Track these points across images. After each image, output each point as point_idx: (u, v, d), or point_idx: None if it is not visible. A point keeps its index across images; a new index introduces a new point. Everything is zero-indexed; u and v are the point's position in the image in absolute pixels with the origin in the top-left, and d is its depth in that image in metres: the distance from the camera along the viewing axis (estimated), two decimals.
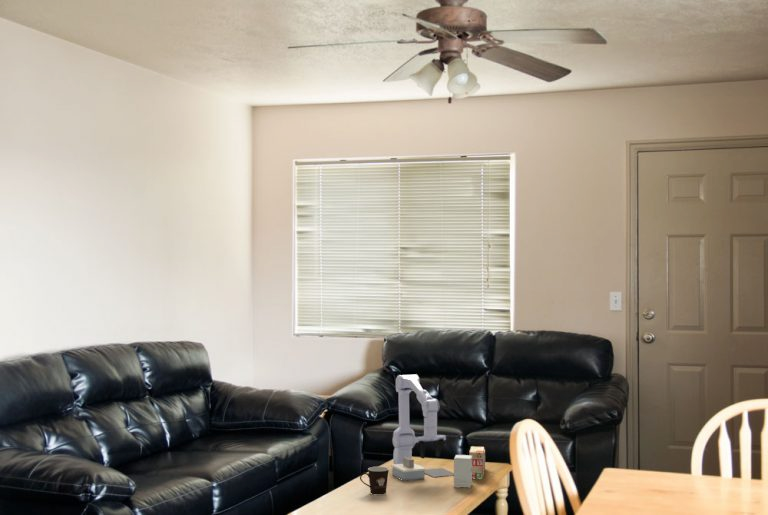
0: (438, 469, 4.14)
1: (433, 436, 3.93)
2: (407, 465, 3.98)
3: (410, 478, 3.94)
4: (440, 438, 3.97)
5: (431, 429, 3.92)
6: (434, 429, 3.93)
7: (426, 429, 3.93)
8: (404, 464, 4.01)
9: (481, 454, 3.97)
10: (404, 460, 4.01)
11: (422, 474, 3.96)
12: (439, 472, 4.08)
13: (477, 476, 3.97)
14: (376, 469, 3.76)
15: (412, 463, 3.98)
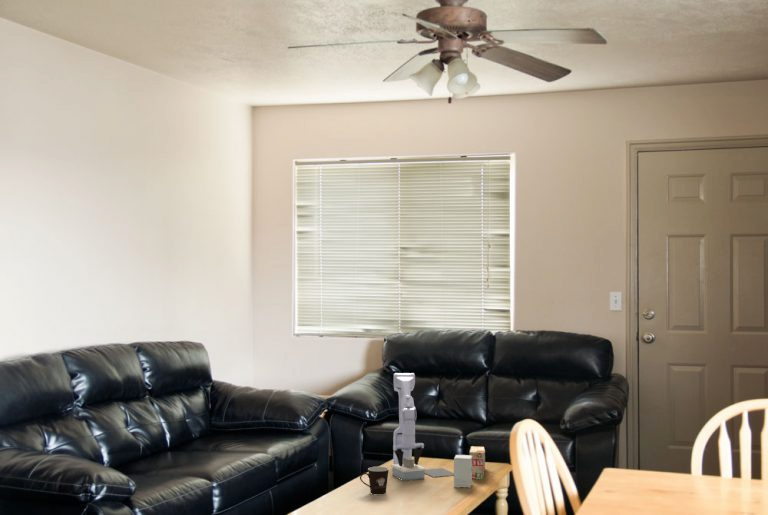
0: (438, 469, 4.14)
1: (411, 444, 3.98)
2: (407, 465, 3.98)
3: (410, 478, 3.94)
4: (418, 446, 4.02)
5: (409, 437, 3.97)
6: (412, 437, 3.98)
7: (404, 437, 3.98)
8: (404, 464, 4.01)
9: (481, 454, 3.97)
10: (404, 460, 4.01)
11: (422, 474, 3.96)
12: (439, 472, 4.08)
13: (477, 476, 3.98)
14: (376, 469, 3.76)
15: (412, 463, 3.98)
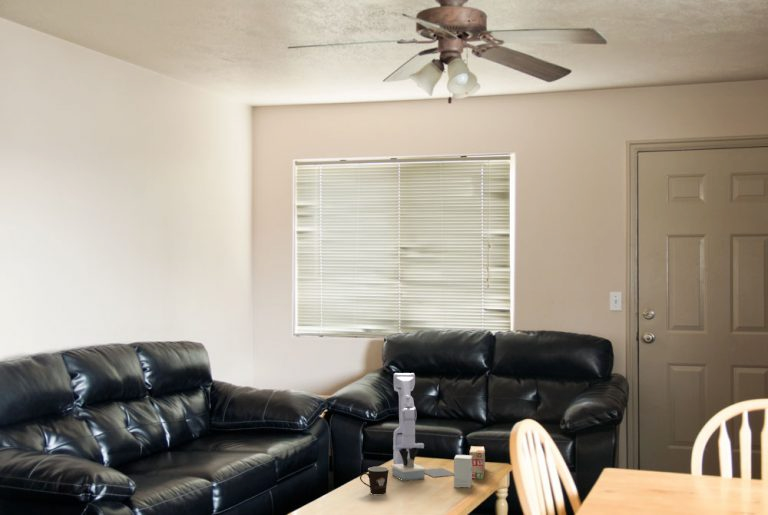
0: (438, 469, 4.14)
1: (411, 444, 3.98)
2: (407, 465, 3.98)
3: (410, 478, 3.94)
4: (418, 446, 4.02)
5: (409, 437, 3.97)
6: (412, 437, 3.98)
7: (404, 437, 3.98)
8: None
9: (481, 454, 3.97)
10: None
11: (422, 474, 3.96)
12: (439, 472, 4.08)
13: (477, 476, 3.98)
14: (376, 469, 3.76)
15: (412, 463, 3.98)
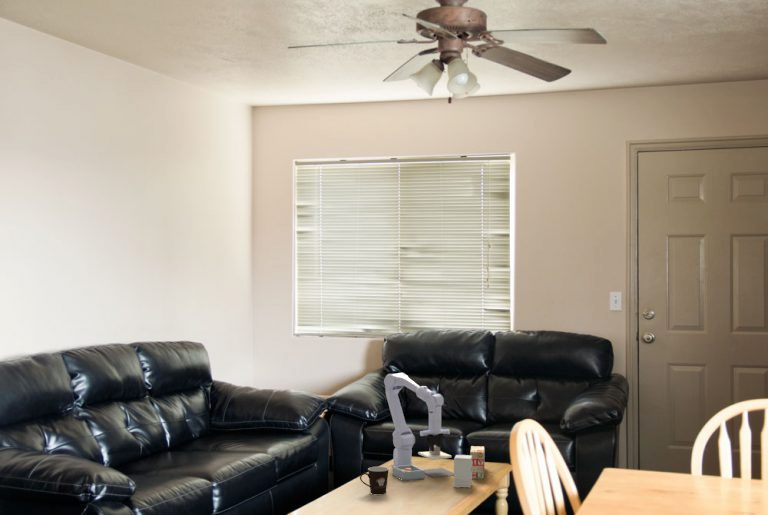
0: (438, 469, 4.14)
1: (437, 430, 4.05)
2: (433, 452, 4.06)
3: (410, 478, 3.94)
4: (444, 432, 4.09)
5: (435, 423, 4.05)
6: (438, 423, 4.05)
7: (431, 423, 4.06)
8: (430, 452, 4.09)
9: (482, 454, 3.98)
10: None
11: (422, 474, 3.96)
12: (439, 472, 4.08)
13: (478, 476, 3.98)
14: (376, 469, 3.76)
15: (438, 450, 4.05)
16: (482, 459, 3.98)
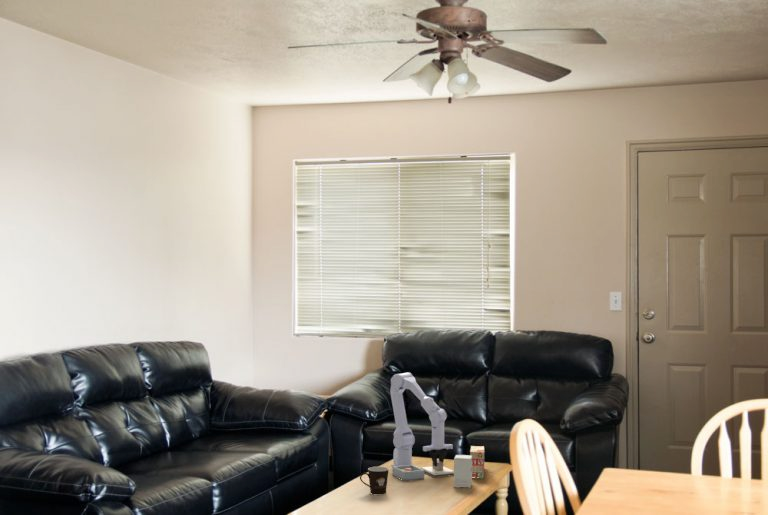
0: None
1: (441, 445, 4.06)
2: (437, 468, 4.07)
3: (410, 478, 3.94)
4: (447, 447, 4.10)
5: (439, 438, 4.06)
6: (441, 438, 4.06)
7: (434, 438, 4.07)
8: (433, 467, 4.09)
9: (482, 453, 3.98)
10: None
11: (422, 474, 3.96)
12: None
13: (478, 475, 3.98)
14: (376, 469, 3.76)
15: (441, 466, 4.06)
16: (482, 459, 3.98)
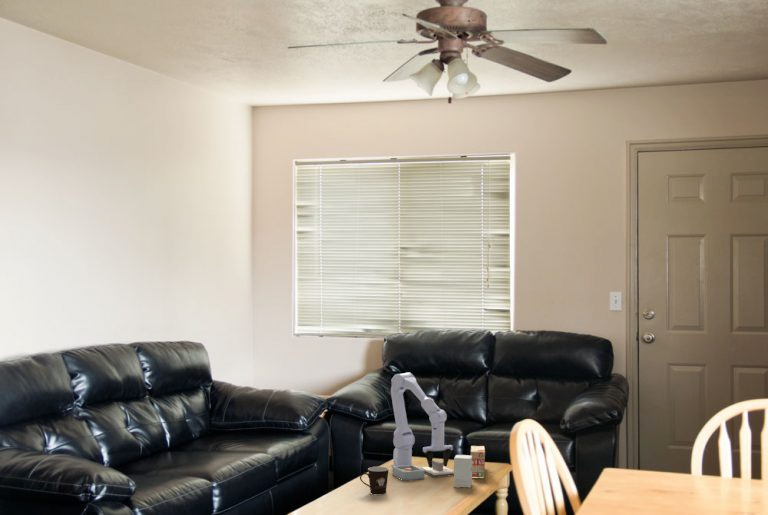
0: None
1: (440, 446, 4.06)
2: (437, 468, 4.07)
3: (410, 478, 3.94)
4: (447, 448, 4.10)
5: (439, 439, 4.06)
6: (441, 439, 4.06)
7: (434, 439, 4.07)
8: (433, 467, 4.09)
9: (483, 453, 3.98)
10: (433, 463, 4.09)
11: (422, 474, 3.96)
12: None
13: (479, 475, 3.99)
14: (376, 469, 3.76)
15: (441, 466, 4.06)
16: (483, 459, 3.98)
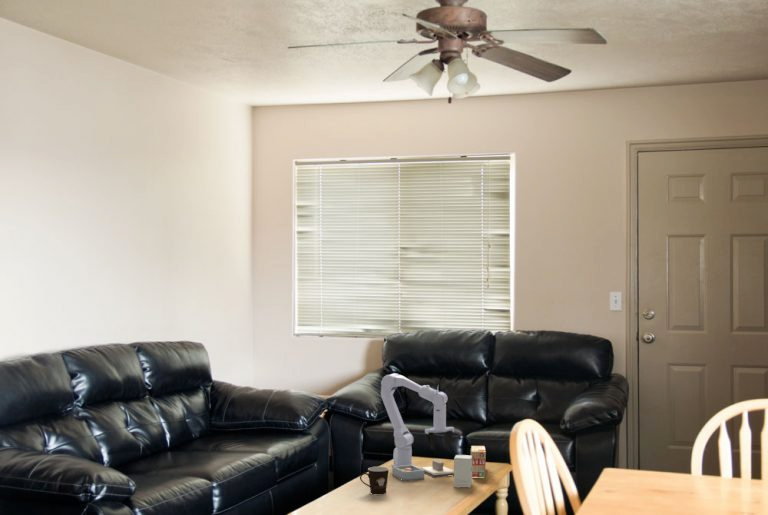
0: None
1: (442, 428, 4.11)
2: (437, 468, 4.07)
3: (410, 478, 3.94)
4: (449, 430, 4.15)
5: (440, 421, 4.11)
6: (443, 421, 4.11)
7: (436, 421, 4.11)
8: (433, 467, 4.09)
9: (484, 453, 3.99)
10: (433, 463, 4.09)
11: (422, 474, 3.96)
12: None
13: (480, 475, 3.99)
14: (376, 469, 3.76)
15: (441, 466, 4.06)
16: (484, 459, 3.99)
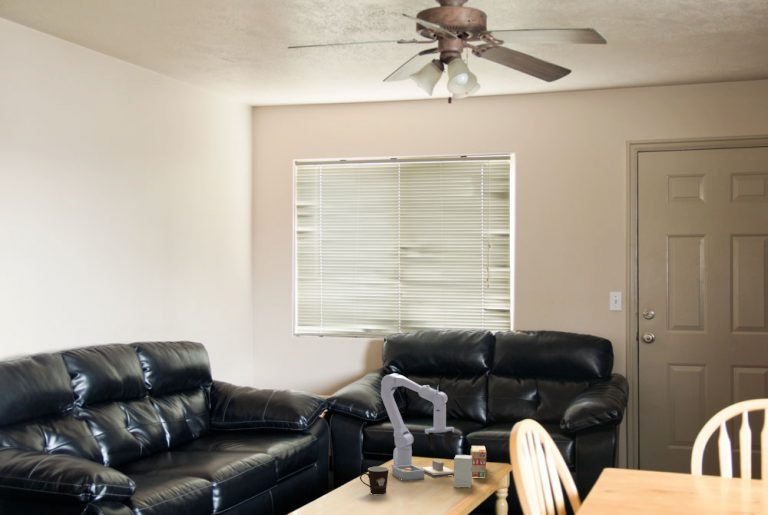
0: None
1: (442, 428, 4.11)
2: (437, 468, 4.07)
3: (410, 478, 3.94)
4: (449, 430, 4.15)
5: (440, 421, 4.11)
6: (443, 421, 4.11)
7: (436, 421, 4.11)
8: (433, 467, 4.09)
9: (484, 453, 3.99)
10: (433, 463, 4.09)
11: (422, 474, 3.96)
12: None
13: (480, 475, 3.99)
14: (376, 469, 3.76)
15: (441, 466, 4.06)
16: (484, 459, 3.99)
